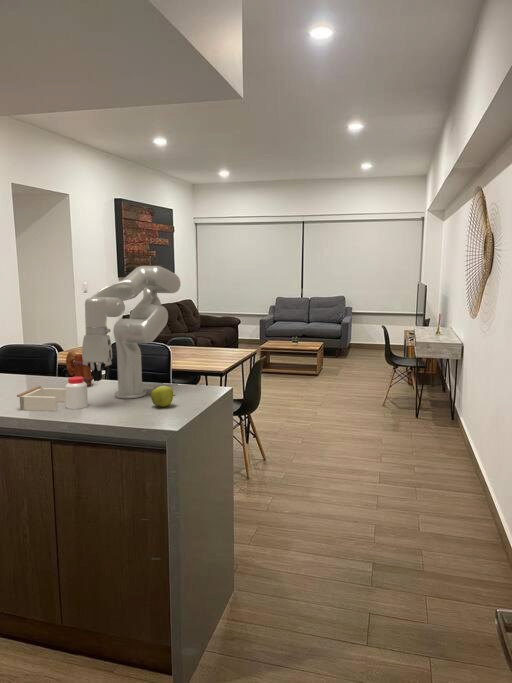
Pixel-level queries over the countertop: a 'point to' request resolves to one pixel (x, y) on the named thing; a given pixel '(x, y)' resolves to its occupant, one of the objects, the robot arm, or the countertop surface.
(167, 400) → the apple
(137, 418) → the countertop surface
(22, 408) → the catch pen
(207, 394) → the countertop surface
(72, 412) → the countertop surface
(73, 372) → the mug
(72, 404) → the pill bottle
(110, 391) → the countertop surface
